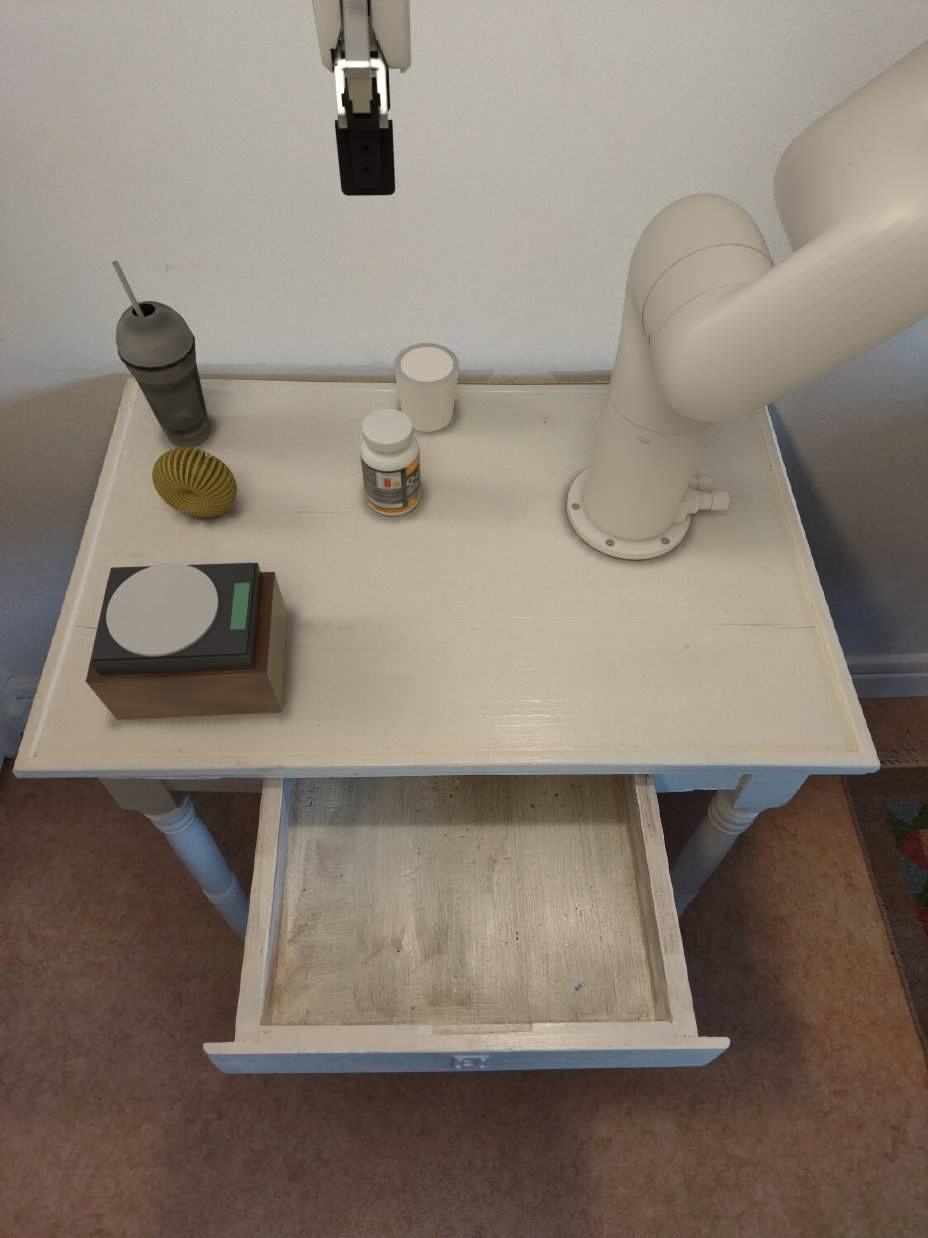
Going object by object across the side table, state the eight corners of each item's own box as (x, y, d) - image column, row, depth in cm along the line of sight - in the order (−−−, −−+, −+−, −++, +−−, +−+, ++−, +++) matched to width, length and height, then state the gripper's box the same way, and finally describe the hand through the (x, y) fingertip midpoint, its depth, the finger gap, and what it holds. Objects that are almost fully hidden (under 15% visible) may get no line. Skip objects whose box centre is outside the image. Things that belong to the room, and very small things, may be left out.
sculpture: (249, 500, 80) (232, 443, 74) (238, 530, 78) (219, 475, 72) (173, 490, 81) (149, 433, 74) (160, 520, 79) (134, 464, 72)
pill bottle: (422, 517, 80) (420, 447, 71) (365, 519, 80) (357, 449, 71) (419, 475, 83) (417, 403, 74) (365, 477, 83) (356, 405, 74)
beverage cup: (204, 464, 83) (144, 297, 66) (141, 448, 84) (66, 280, 67) (234, 417, 87) (184, 248, 70) (173, 403, 88) (110, 233, 71)
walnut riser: (288, 614, 73) (274, 571, 67) (281, 712, 68) (266, 674, 62) (134, 620, 72) (107, 577, 66) (116, 719, 67) (85, 681, 61)
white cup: (451, 440, 86) (451, 390, 80) (390, 430, 86) (386, 380, 80) (463, 397, 89) (465, 347, 83) (404, 388, 90) (402, 337, 84)
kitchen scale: (262, 576, 67) (256, 558, 65) (254, 669, 62) (247, 652, 60) (118, 581, 66) (107, 563, 64) (99, 675, 62) (86, 659, 59)
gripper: (435, -186, 31) (435, 228, 45) (415, -290, 40) (420, 83, 55) (241, -191, 30) (303, 230, 45) (265, -294, 40) (310, 83, 54)
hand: (367, 149), depth 50 cm, fingers open, 9 cm apart
